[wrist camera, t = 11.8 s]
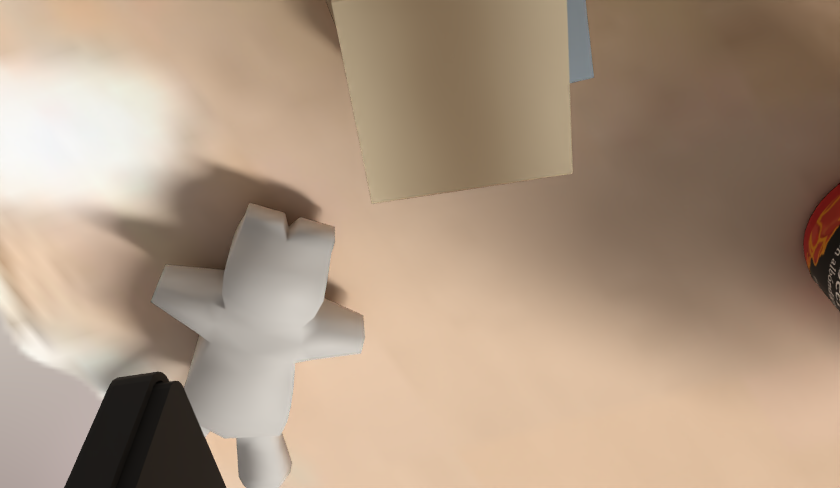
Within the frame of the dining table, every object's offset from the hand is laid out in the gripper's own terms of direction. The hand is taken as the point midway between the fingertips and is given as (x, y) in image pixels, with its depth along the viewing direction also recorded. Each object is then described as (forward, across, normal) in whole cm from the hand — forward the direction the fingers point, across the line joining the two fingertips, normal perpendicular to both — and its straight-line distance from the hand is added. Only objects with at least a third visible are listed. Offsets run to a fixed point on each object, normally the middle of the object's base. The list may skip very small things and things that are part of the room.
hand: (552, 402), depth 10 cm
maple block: (+16, 0, -1) cm, 16 cm away
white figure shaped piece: (+24, +12, +15) cm, 30 cm away
